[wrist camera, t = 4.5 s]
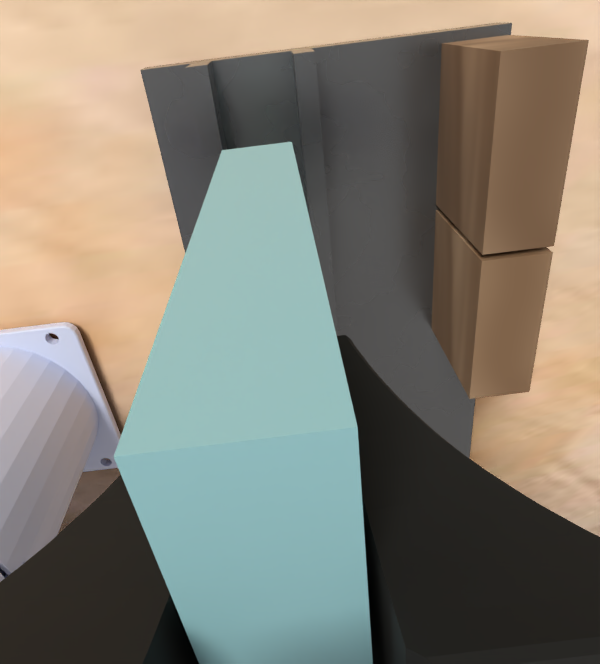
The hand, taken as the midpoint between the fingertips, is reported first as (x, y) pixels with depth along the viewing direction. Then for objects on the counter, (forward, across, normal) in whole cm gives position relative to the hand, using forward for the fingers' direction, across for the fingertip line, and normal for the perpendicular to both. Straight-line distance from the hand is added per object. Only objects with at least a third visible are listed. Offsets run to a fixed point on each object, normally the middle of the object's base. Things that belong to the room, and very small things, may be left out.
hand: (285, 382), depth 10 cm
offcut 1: (+9, -7, -3) cm, 12 cm away
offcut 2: (+9, -7, +2) cm, 11 cm away
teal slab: (+3, 0, 0) cm, 3 cm away
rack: (+10, -2, +7) cm, 12 cm away
